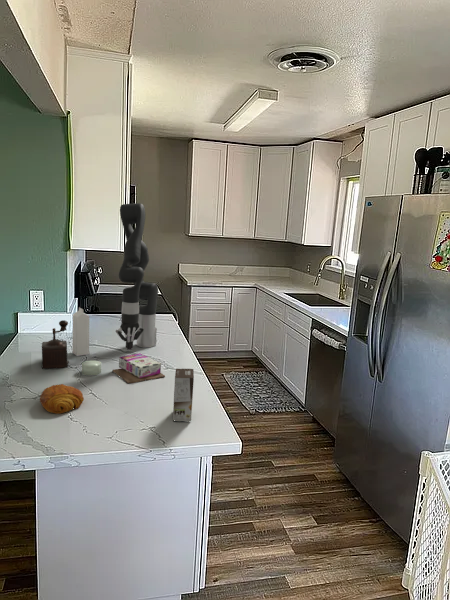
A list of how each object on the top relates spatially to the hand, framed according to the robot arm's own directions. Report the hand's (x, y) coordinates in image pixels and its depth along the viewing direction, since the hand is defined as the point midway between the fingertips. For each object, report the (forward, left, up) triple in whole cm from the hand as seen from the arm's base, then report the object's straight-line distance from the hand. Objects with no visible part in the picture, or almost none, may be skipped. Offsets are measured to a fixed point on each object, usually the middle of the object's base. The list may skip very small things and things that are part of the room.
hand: (129, 349), depth 200 cm
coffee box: (+4, +54, -8) cm, 55 cm away
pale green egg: (+17, 0, -8) cm, 19 cm away
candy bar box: (0, 0, -5) cm, 5 cm away
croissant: (+37, +27, -8) cm, 46 cm away
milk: (+13, -26, -8) cm, 30 cm away
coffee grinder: (+27, -18, -8) cm, 33 cm away
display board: (0, +10, -8) cm, 13 cm away
